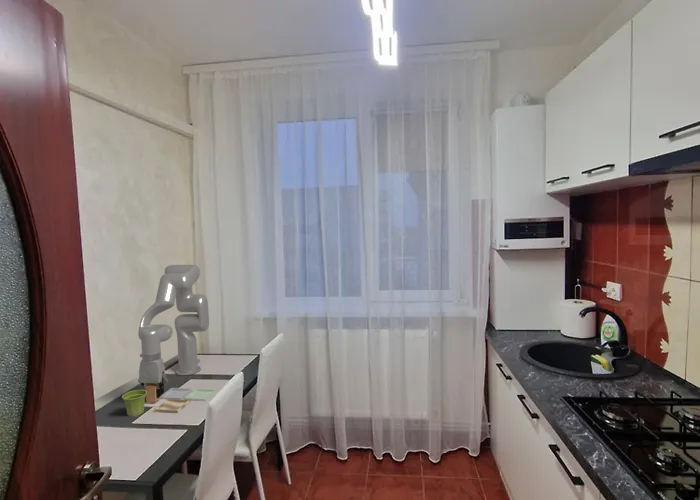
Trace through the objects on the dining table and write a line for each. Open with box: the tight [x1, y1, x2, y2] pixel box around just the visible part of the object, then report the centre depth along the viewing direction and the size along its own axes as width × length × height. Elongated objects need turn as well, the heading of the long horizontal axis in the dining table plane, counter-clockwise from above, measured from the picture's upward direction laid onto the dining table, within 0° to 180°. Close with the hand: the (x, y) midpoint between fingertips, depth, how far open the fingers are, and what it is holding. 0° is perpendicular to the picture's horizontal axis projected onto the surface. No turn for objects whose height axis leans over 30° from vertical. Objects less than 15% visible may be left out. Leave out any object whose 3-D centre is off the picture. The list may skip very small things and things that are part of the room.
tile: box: [144, 399, 166, 408], centre depth 183 cm, size 8×8×1 cm
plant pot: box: [121, 389, 147, 417], centre depth 173 cm, size 9×9×9 cm
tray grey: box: [160, 387, 193, 400], centre depth 191 cm, size 11×11×2 cm
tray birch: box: [153, 399, 191, 414], centre depth 179 cm, size 11×11×2 cm
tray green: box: [182, 388, 217, 402], centre depth 190 cm, size 11×11×2 cm
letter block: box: [145, 383, 162, 402], centre depth 183 cm, size 4×5×7 cm
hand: (153, 396), depth 183 cm, fingers closed on letter block, 4 cm apart
